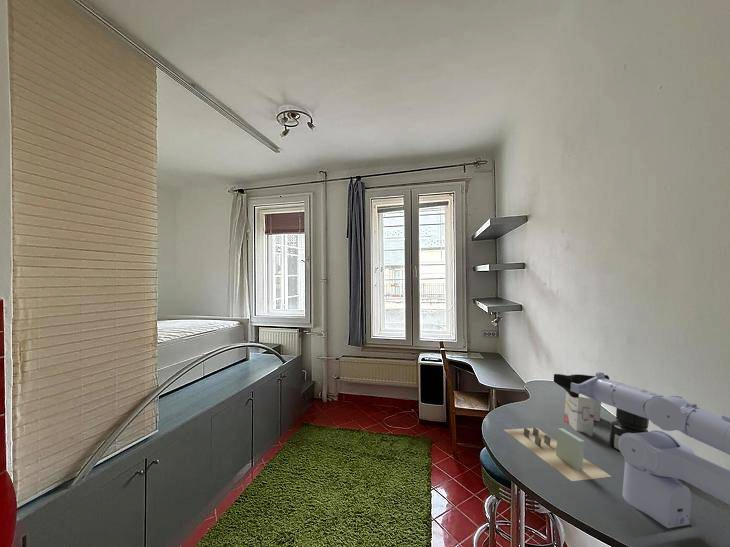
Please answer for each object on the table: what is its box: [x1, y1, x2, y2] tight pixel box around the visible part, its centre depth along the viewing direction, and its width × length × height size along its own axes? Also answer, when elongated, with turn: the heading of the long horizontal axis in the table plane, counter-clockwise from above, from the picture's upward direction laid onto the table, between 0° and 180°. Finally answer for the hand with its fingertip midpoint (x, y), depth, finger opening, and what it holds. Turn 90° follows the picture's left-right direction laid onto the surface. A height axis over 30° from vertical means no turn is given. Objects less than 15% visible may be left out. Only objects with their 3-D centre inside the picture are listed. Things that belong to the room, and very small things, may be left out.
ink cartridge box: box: [563, 390, 595, 437], centre depth 95 cm, size 9×5×15 cm, turn 168°
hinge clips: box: [523, 427, 551, 446], centre depth 84 cm, size 6×4×2 cm
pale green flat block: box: [556, 427, 586, 471], centre depth 74 cm, size 6×2×7 cm, turn 14°
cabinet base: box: [504, 427, 613, 482], centre depth 79 cm, size 22×12×1 cm, turn 14°
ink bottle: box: [608, 408, 650, 454], centre depth 83 cm, size 10×9×12 cm
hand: (565, 377), depth 80 cm, fingers open, 7 cm apart
